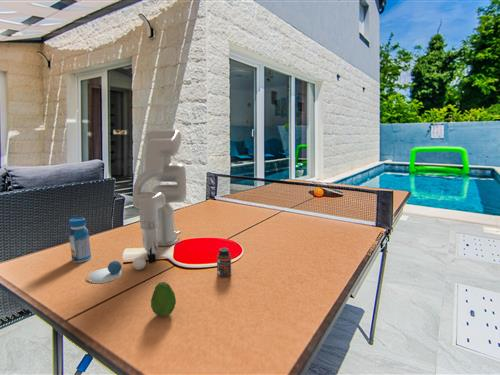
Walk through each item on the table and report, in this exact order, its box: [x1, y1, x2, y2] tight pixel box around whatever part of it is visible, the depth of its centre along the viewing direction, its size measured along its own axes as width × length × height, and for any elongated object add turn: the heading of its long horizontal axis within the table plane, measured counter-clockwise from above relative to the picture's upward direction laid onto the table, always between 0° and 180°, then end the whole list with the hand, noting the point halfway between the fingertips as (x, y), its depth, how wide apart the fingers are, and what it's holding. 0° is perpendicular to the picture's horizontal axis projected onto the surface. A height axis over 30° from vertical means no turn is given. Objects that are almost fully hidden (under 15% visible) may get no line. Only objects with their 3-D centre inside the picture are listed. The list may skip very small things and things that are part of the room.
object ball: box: [107, 260, 123, 274], centre depth 138 cm, size 6×6×6 cm
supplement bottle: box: [216, 247, 232, 278], centre depth 135 cm, size 6×6×11 cm
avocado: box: [150, 281, 177, 318], centre depth 107 cm, size 8×8×12 cm
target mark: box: [85, 267, 123, 284], centre depth 137 cm, size 14×14×1 cm
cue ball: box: [132, 256, 147, 271], centre depth 142 cm, size 6×6×6 cm
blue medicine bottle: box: [68, 216, 92, 263], centre depth 151 cm, size 8×8×20 cm
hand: (152, 262), depth 146 cm, fingers closed
